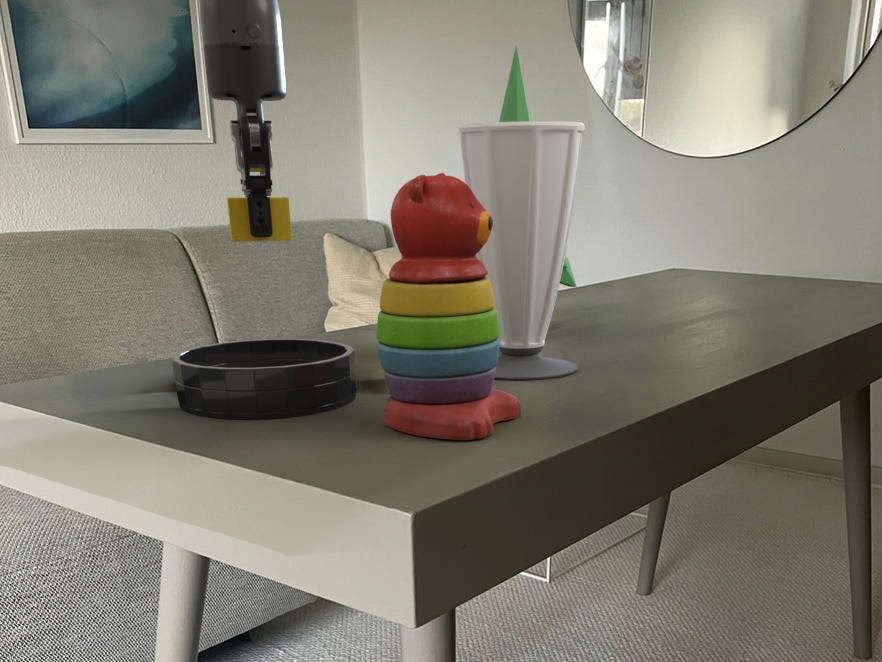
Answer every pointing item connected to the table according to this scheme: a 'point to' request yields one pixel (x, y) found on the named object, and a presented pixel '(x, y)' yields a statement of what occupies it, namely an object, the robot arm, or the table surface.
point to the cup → (524, 230)
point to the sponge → (242, 225)
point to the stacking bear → (440, 316)
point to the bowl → (265, 378)
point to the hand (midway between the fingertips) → (260, 234)
